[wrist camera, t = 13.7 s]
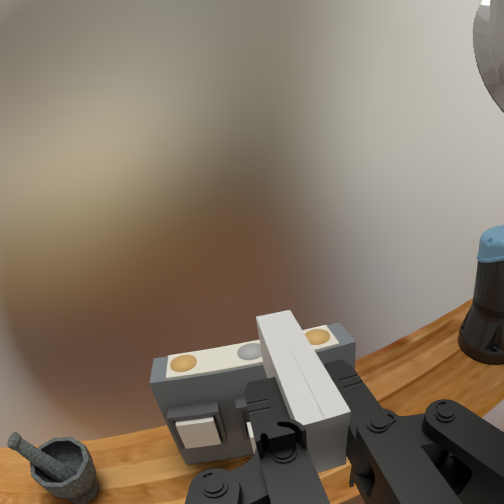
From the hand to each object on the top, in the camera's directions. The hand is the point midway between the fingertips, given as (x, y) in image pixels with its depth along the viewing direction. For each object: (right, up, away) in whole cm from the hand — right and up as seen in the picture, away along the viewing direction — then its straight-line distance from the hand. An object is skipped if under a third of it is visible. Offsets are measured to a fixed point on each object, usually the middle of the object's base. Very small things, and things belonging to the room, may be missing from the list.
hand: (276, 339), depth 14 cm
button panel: (+1, -23, +26) cm, 35 cm away
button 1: (-7, -19, +21) cm, 29 cm away
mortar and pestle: (-26, -30, +17) cm, 44 cm away
